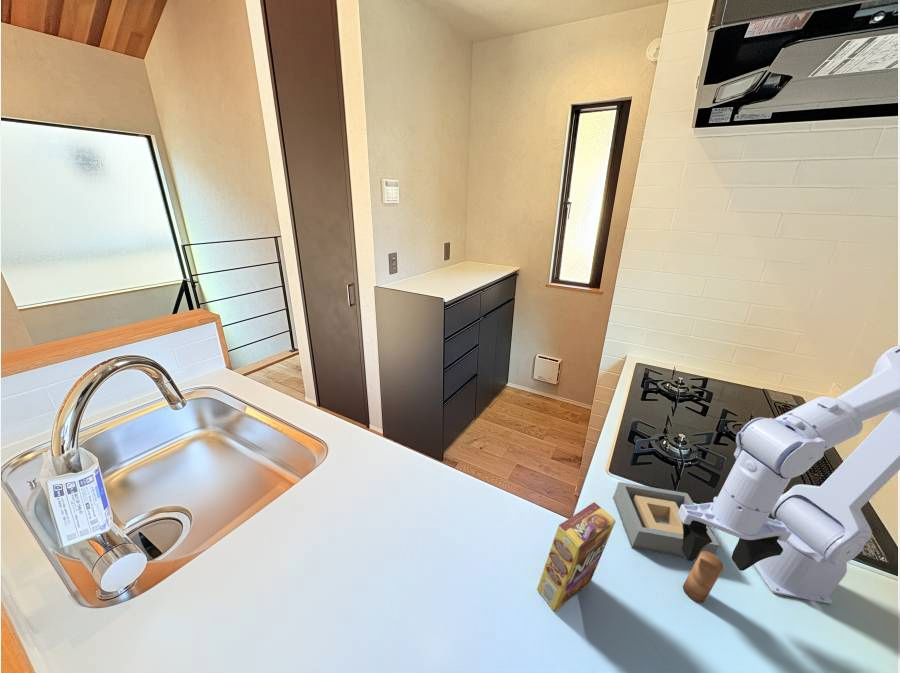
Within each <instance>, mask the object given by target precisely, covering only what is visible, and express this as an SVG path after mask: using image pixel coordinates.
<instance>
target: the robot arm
mask: <svg viewBox="0 0 900 673" xmlns="http://www.w3.org/2000/svg"><path fill="white" fill-rule="evenodd" d="M889 411H890V412H889ZM887 412H889V413H888V414H887V415H886V416H885V417H884V418H883V419H882V420H881V421H880V422H879V424H878V425H877V426H876V427H875V428H874V429H873V430H872V431H870V433H869V434H868V435H867V436H866V437H865V439H863V440H862V442H860V444H859V445H857V447H856V448H855V449H854V450H853V451H852V452H851V453H850V454H849V455H848V456H847V457H846V458H845V460H843V461H842V463H841V464H840V465H839V466H838V467H837V468H836V469H835V470H834V471H833V472H832V473H831V474H830V475H829V477H827V479H825V481H823V483H822V484H821V485H820V486H819V485H812V484H811V485H810V484H801V483H800V484H795V485H793V486H792V487H791V488H789V490H788V491H786V492H785V493H784V491H785V490H786V488H787V486H788V485H789V483H790V482H791V480H792V479H793V478H797V477H799V476H801V475H803V474H805V473H806V472H807V471H808V470H810V469H811V468H812V467H813V466H814V465H815V464H816V463H817V462H819V461H821V460H822V458H823V457H824V455H825V452H826V451H827V450H829V449H831V448H833V447H836V446H837V445H839V444H841V443H843V442H846V441H848V440H850V439H851V438H854V437H856V436H858V435H859V434H861V433H862V430H863V428H864V424H863V421H866V420H869V419H871V418H873V417H877V416H879V415H882V414H885V413H887ZM735 443H736V448H735V451H734V453H733V456H734V458H735V459H736V460H735V463H734V464H733V466H732V468H731V470H730V472H729V473H728V476H727V477H726V480H725V482H724V484H723V485H722V487H721V490H720V492H719V493H718V495H717V496H714V497H713V499H712V500H713V502H706V503H704V502H703V503H698V504H697V503H696V504H694V505H684V504H682V505H681V507H680V509H679V511H678V515H679V517H680V519H681V520H682V525H683V545H682V551H683V553H684V555H685V557H686V558H685V559H686V560H687V561H688V562H693V561H694V559H695V558H696V557H697V555H698V554H699V552H700V550H701V549H702V548H703V547H704V546H706V545H707V544H709V543H711V542H712V540H711V538H710V537H709V535H708V533H707V530H708V529H707V528H706V526H708V527H711V528H713V529H716V530H719V531H721V532H724V533H726V534H728V535H732V536H734V537H736V538H738V541H737V543H736V545H735V547H734V549H733V551H732V554H731V560H732V561H733V563H734V565H735V566H736V567H737V569H738V571H741V572H744V571H746V570H748V569H749V568H751V567H752V566H754V567H755V569H756V570H757V572H758V573H759V574H760V576H761V577H762V579H763V580H764V582H765V583H766V585H767V586H768V588H769V590H770V591H771V593H773V594H776V595H782V596H787V597H792V598H798V599H803V600H807V601H809V600H810V601H813V602H818V603H825V604H832V603H833V600H832V598H831V597H830V595H831V593H832V592H834V590H835V589H836V588H837V586H838V585H839V584H840V582H842V580H843V578H844V577H845V576H846V574H847V571H848V566H847V565H848V564H847V563H849V562H850V561H852V560H853V559H854V558H856V557H857V556H858V555H860V553H861V552H862V550H863V549H864V547H865V545H866V544H867V542H868V541H869V540H870V539H871V538H872V535H873V531H872V529H871V526H870V525H869V523H868V521H867V519H866V516H865V515H864V514H863V511H862V508H863V507H864V506H865V505H866V504H867V503H868V502H869V501H870V500H871V499H872V498H873V497H874V496H876V494H877V493H878V492H879V491H880V490H881V489H882V488H883V487H884V486H885V485H886V484H887V483H888V482H889V481H890V480H891V479H892V478H893V477H894V476H895V475H896V474H897V473H898V472H900V344H899V345H896V346H893V347H890V348H889V349H888V350H886V351H885V352H883V353H882V354H881V355H880V357H879V358H878V359H877V360H876V362H875V364H874V366H873V369H872V372H871V373H870V376H869V377H868V378H865V379H863V380H862V381H861V382H860V383H858V384H856V385H855V386H853V387H852V388H850V389H848V390H847V391H845V392H844V393H842V394H840V395H839V396H837V397H836V398H835V397H830V396H818V397H816V398H814V399H812V400H809V401H808V402H805V403H803V404H800V405H799V406H796V407H795V408H792V409H791V410H789V411H787V412H785V413H783V414H780V415H779V416H777V417H775V418H772V417H769V418H768V417H760V416H759V417H756V418H753V419H751V420H750V421H748V422H747V423H745V424H744V425H743V427H742V428H741V430H740V431H738V432H737V434H736V436H735ZM770 514H771V517H772V518H770ZM773 518H774V519H773Z"/></svg>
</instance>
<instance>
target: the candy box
mask: <svg viewBox="0 0 900 673" xmlns="http://www.w3.org/2000/svg"><path fill="white" fill-rule="evenodd" d="M615 524H616V519H615V518H614V517H613V516H612V515H611V514H610V513H609V512H607V511H606V509H604V508H602V507H601V506H599V504H597V503H596V502H595V501H594V502H592V503H590V504H589V505H587V506H586V507H584V508H583V509H581V510H580V511H579V512H577V513H576V514H574V515H572V516H571V517H570V518H568V519H566V520H565V521H564V522H561V523H560V524H558V526H557V529H556V532H555V535H554V538H553V541H552V544H551V547H550V549H549V553H548V556H547V558H546V562H545V565H544V567H543V571H542V574H541V577H540V580H539V583H538V585H537V588H536V591H537V592H538V593H539V594H540V595H541V597H542V598H543V599H544V600H545V602H546V604H548V605H549V607H550V608H551V610H552V611H553V612H554V613H555V612H557V611H558V610H560V608H562V607H563V606H564V605H565V604H566V603H568V602H569V601H570V600H571V599H573V597H575V596H576V595H577V594H579V593H580V592H581V591H582V590H584V589H585V588H586V587H587V586H589V585H590V584H591V582H592V579H593V577H594V575H595V572H596V570H597V567H598V565H599V562H600V560H601V558H602V556H603V552H604V550H605V548H606V546H607V543H608V541H609V538H610V536H611V534H612V531H613V529H614V526H615Z"/></svg>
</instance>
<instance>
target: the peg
mask: <svg viewBox="0 0 900 673" xmlns="http://www.w3.org/2000/svg"><path fill="white" fill-rule="evenodd" d="M724 568H725V566H724V563H723V562H722V560H721V558H719V557H718V556H717V555H716V554H715V555H714V554H712V553H710V552H707V551H702V552H701V553H700V555H699V557H698V558H697V560H695V563H694V564H693V566H692V567H691V570H690V572H689V574H688V576H687V577H686V579H685V581H684V583H683V585H682V589H683V592H684V593H685V595H686V596H687V597H688V599H689V600H692V601H693V602H696V603H697V604H703V603H704V602H705V601H706V600H707V598H708V596H709V594H710V593H711V591H712V589H713V587H714V586H715V584H716V582H717V581H718V579H719V577H720V575H721V574H722V572H723V570H724Z"/></svg>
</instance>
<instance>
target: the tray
mask: <svg viewBox="0 0 900 673" xmlns="http://www.w3.org/2000/svg"><path fill="white" fill-rule="evenodd" d="M616 485H617V486H616V489H615V491H614V493H613V496H612V498H613V501H614V504H615V507H616V510H617V512H618V515H619V517H620V520H621V523H622V525H623V528H624V531H625V533H626V536H627V539H628V543H629V544H630V548H631V549H634V550H641V551H645V552H650V553H657V554H663V555H666V556H667V555H668V556H673V557H678V558H685V559H686V557H685V555H684V553H683V551H682V545H683V525H682V520H681V519H680V517H679V515H678V511H679V509H680V507H681V505H682V504H684V505H695V503H694V502H693V500H692V499H691V497H690V495H689V493H687V492H682V491H676V490H670V489H663V488H660V487H659V488H658V487H657V488H656V487H653V486H652V487H651V486H644V485H640V484H634V483H628V482H621V481H618V482H617V484H616ZM709 527H710V526H708V525H707V526H706V528H707V529H708V530H707V533H708V535H709V537H710V538H711V540H712V542H711V543H709V544H707V545H706V546H704V547H703V548H702V549H701V550H700V552H699V554H698V555H697V557H696V558H695V559H694V560H695V561H696V560H697V558H698V557H699V555H700V553H701V552H702V551H707V552H710V553H712V554H714V555H716V553H717V551H718V550H719V548H720V546H721V545H720V543H719V542H718V540H717V538H716V537H715V535H714V534H713V533H712V531H711V529H710V528H709ZM694 560H693V561H694Z"/></svg>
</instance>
